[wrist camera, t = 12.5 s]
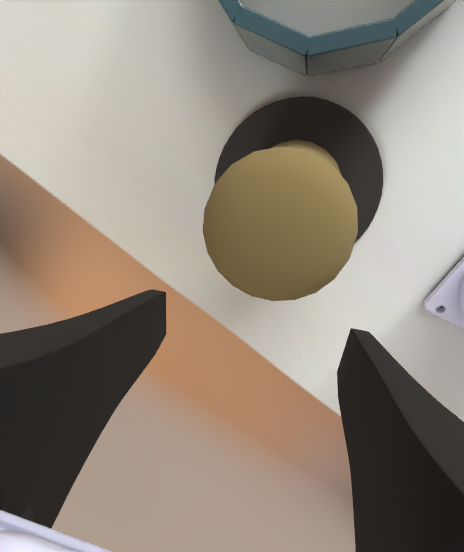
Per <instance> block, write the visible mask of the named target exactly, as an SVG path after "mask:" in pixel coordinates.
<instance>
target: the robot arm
mask: <svg viewBox="0 0 464 552" xmlns="http://www.w3.org/2000/svg"><path fill="white" fill-rule="evenodd" d="M423 306H424V308H425V309H426V310H427V311H429V312H431V313H433V314H435V315H437V316H439V317H441V318H443V319H445V320H447V321H449V322H451V323H453V324H455V325H457V326H459V327H461V328H463V329H464V257H463V258H462V259H461V260H460V261H459V262H458V263H457V265H456V266H455V267H454V268H453V269H452V270H451V271H450V272H449V274H448V275H447V276H446V277H445V278H444V279H443V280H442V281H441V282H440V284H439V285H438V286H437V287H436V288H435V289H434V290H433V291H432V293H431V294H430V295H429V296H428V297H427V298H426V299H425V301H424V302H423ZM439 306H443V308H442V309H441V310H436V309H437V307H439ZM165 335H166V292H163V291H157V290H148V291H145V292H142V293H139V294H137V295H134V296H132V297H129V298H126V299H124V300H122V301H119V302H116V303H113V304H111V305H108V306H106V307H103V308H100V309H97V310H94V311H91V312H89V313H86V314H83V315H80V316H77V317H73V318H70V319H67V320H63V321H59V322H55V323H52V324H48V325H44V326H38V327H34V328H29V329H24V330H19V331H14V332H9V333H2V334H0V552H112V551H109V550H107V549H104V548H101V547H99V546H96V545H93V544H91V543H88V542H85V541H83V540H80V539H77V538H75V537H72V536H69V535H66V534H64V533H61V532H58V531H56V530H53V529H51V528H52V525H53V524H54V521H55V520H56V518H57V516H58V514H59V512H60V510H61V508H62V506H63V503H64V502H65V500H66V497H67V495H68V493H69V491H70V489H71V487H72V486H73V483H74V482H75V480H76V478H77V476H78V474H79V472H80V470H81V469H82V467H83V465H84V463H85V461H86V459H87V457H88V456H89V454H90V452H91V450H92V448H93V447H94V445H95V443H96V441H97V440H98V438H99V436H100V434H101V432H102V431H103V429H104V427H105V426H106V424H107V422H108V421H109V419H110V417H111V415H112V414H113V412H114V411H115V409H116V407H117V406H118V404H119V403H120V402H121V400H122V399H123V397H124V396H125V395H126V393H127V392H128V390H129V389H130V388H131V386H132V385H133V384H134V382H135V381H136V380H137V378H138V377H139V375H140V374H141V373H142V372H143V370H144V369H145V368H146V366H147V365H148V363H149V362H150V361H151V359H152V358H153V356H154V355H155V354H156V352H157V350H158V348H159V347H160V345H161V343H162V341H163V339H164V337H165ZM337 379H338V399H339V405H340V411H341V417H342V422H343V428H344V433H345V439H346V445H347V451H348V457H349V463H350V471H351V481H352V495H353V509H354V527H355V544H356V552H464V422H463V421H461V420H460V419H459V418H458V417H457V416H455V415H454V414H453V413H452V412H451V411H449V410H448V409H447V408H446V407H444V406H443V405H442V404H441V403H440V402H439V401H437V400H436V399H435V398H434V397H433V396H432V395H431V394H430V393H429V392H427V391H426V390H425V389H424V388H423V387H422V386H421V385H420V384H419V383H418V382H417V381H416V380H415V379H414V378H413V377H412V376H411V375H410V374H409V373H408V372H407V371H406V370H405V369H404V368H403V367H402V366H401V365H400V364H399V363H398V362H397V361H396V360H395V359H394V358H393V357H392V356H391V355H390V354H389V353H388V351H387V350H386V349H385V348H384V347H383V346H382V345H381V344H380V343H379V342H378V341H377V340H376V339H375V337H374V336H373V335H372V334H371V333H369V332H367V331H362V330H357V329H352V328H351V330H350V333H349V336H348V339H347V342H346V346H345V349H344V352H343V355H342V358H341V361H340V365H339V368H338V371H337Z"/></svg>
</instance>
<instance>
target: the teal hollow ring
mask: <svg viewBox="0 0 464 552" xmlns="http://www.w3.org/2000/svg"><path fill="white" fill-rule="evenodd" d="M455 1H456V0H414V1H413V2H412V3H411V4H410V5H408V6H407V7H406V8H405V9H404V10H403V11H401V12H400V13H399V14H398V15H397V16H395V17H394V18H390V19H386V20H382V21H377V22H373V23H368V24H364V25H359V26H355V27H351V28H346V29H342V30H337V31H333V32H328V33H324V34H320V35H315V36H311V37H310V36H307V35H305V34H303V33H301V32H299V31H296V30H294V29H292V28H290V27H288V26H285V25H283V24H281V23H279V22H277V21H274V20H272V19H270V18H268V17H266V16H263V15H261V14H259V13H257V12H255V11H253V10H250V9H248V8H246V7H244V6H242V4H241V2H240V1H239V0H219V2H220V4H221V5H222V7H223V9H224V10H225V12H226V14H227V15H228V17H229V19H230V20H231V22H232V23H233V25H234V27H235V28H236V30H237V31H238V33H239V35H240V36H241V38H242V39H243V41H244V43H245V44H246V46H247V47H248V48H249V49H250V50H251V51H252V52H255V53H257V54H259V55H261V56H263V57H265V58H268V59H270V60H272V61H274V62H276V63H278V64H281V65H283V66H285V67H287V68H289V69H291V70H294V71H296V72H298V73H300V74H302V75H304V76H306V75H307V73H308V76H313V75H318V74H324V73H329V72H334V71H339V70H344V69H350V68H355V67H360V66H365V65H371V64H376V63H377V62H378V61H381V60H382V59H384V58H385V57H386V56H387V55H389V54H390V53H391V52H393V51H394V50H395V49H396V48H398V47H399V46H400V45H401V44H403V43H404V42H405V41H406V40H408V39H409V38H410V37H412V36H413V35H414V34H415V33H417V32H418V31H419V30H420V29H422V28H423V27H424V26H425V25H427V24H428V23H429V22H431V21H432V20H433V19H434V18H436V17H437V16H438V15H439V14H441V13H442V12H443V11H444V10H446V9H447V8H448V7H450V6H451V5H452V4H453V3H454V2H455Z"/></svg>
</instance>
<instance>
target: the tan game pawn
mask: <svg viewBox="0 0 464 552" xmlns="http://www.w3.org/2000/svg"><path fill="white" fill-rule="evenodd" d="M203 234H204V239H205V243H206V248H207V252H208V254H209V256H210V258H211V259H212V261H213V263H214V265H215V267H216V268H217V270H218V272H219V273H220V274H222V275H223V276H224V277H225V278H226V279H227V280H228V281H229V282H230V283H231V284H232V285H233V286H234V287H236V288H238V289H240V290H241V291H243V292H245V293H247V294H249V295H251V296H254V297H258V298H262V299H266V300H271V301H281V300H295V299H298V298H301V297H304V296H307V295H310V294H313V293H316V292H317V291H318V290H320V289H321V288H323V287H324V286H325V285H327V284H328V283H330V282H331V281H332V280H334V279H335V277H336V276H337V275H338V273H339V272H340V271H341V269H342V268H343V267H344V265H345V264H346V263H347V261H348V260H349V258H350V255H351V252H352V249H353V246H354V243H355V240H356V237H357V234H358V219H357V205H356V203H355V200H354V198H353V195H352V193H351V190H350V188H349V185H348V183H347V182H346V180H345V179H344V178H343V177H342V175H341V173H340V170H339V168H338V165H337V162H336V161H335V160H334V159H333V157H332V156H331V155H330V154H329V153H328V152H327V151H326V150H325V149H324V148H322V147H320V146H318V145H316V144H314V143H312V142H308V141H301V140H291V141H287V142H282V143H278V144H277V145H275V146H273V147H271V148H269V149H265V150H260V151H255V152H252V153H250V154H249V155H247V156H245V157H244V158H242V159H240V160H239V161H237V162H235V163H233V164H232V165H231V166H230V167H229V168H228V169H227V170H226V172H225V173H224V174H223V175H222V176H221V177H220V178H219V180H218V181H217V182H216V183H215V185H214V188H213V190H212V193H211V195H210V197H209V200H208V202H207V204H206V207H205V212H204V224H203Z"/></svg>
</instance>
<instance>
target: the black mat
mask: <svg viewBox="0 0 464 552" xmlns="http://www.w3.org/2000/svg"><path fill="white" fill-rule="evenodd" d="M291 140H301V141H308V142H312V143H314V144H316V145H318V146H320V147H322V148H324V149H325V150H326V151H327V152H328V153H329V154H330V155H331V156H332V157H333V159H334V160H335V161H336V162H337V165H338V168H339V170H340V173H341V175H342V177H343V178H344V179H345V180H346V182H347V183H348V185H349V188H350V190H351V193H352V195H353V198H354V200H355V203H356V205H357V219H358V234H357V237H356V240H355V242H356V241H357V240H358V239H359V238H360V237H361V236H362V235H363V233H364V232H365V231H366V230H367V228H368V227H369V225H370V223H371V221H372V220H373V218H374V216H375V213H376V211H377V209H378V206H379V202H380V199H381V194H382V187H383V169H382V161H381V157H380V154H379V150H378V147H377V145H376V143H375V141H374V139H373V137H372V135H371V134H370V132H369V131H368V129H367V128H366V126H365V125H364V124H363V123H362V122H361V121H360V120H359V119H358V118H357V117H356V116H355V115H353V114H352V113H351V112H350V111H348V110H347V109H345V108H343V107H341V106H340V105H338V104H335V103H333V102H330V101H327V100H323V99H318V98H312V97H296V98H288V99H284V100H280V101H276V102H274V103H271V104H269V105H267V106H265V107H263V108H261V109H259V110H258V111H256V112H254V113H253V114H252V115H251V116H249V117H248V118H247V119H245V120H244V121H243V122H242V123H241V124H240V125H239V126H238V127H237V129H236V130H235V131H234V133H233V134H232V135H231V136H230V138H229V140H228V141H227V143H226V145H225V146H224V149H223V151H222V153H221V155H220V158H219V161H218V165H217V169H216V174H215V183H216V182H217V181H218V180H219V178H220V177H221V176H222V175H223V174H224V173H225V172H226V170H227V169H228V168H229V167H230V166H231V165H232V164H233V163H235V162H237V161H239V160H240V159H242V158H244V157H245V156H247V155H249V154H250V153H252V152H255V151H260V150H265V149H269V148H271V147H273V146H275V145H277V144H278V143H282V142H287V141H291Z"/></svg>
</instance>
